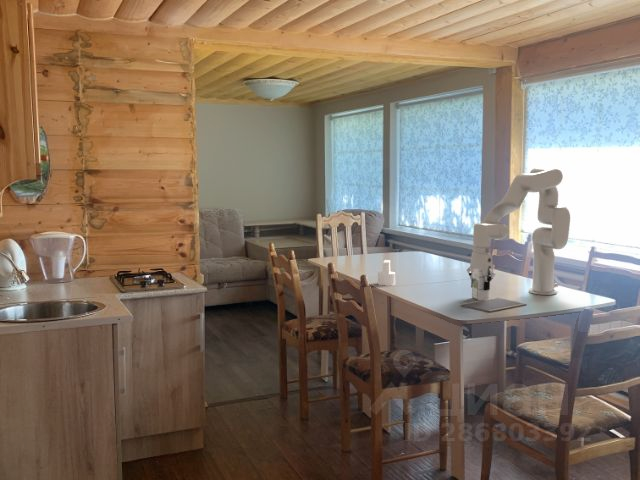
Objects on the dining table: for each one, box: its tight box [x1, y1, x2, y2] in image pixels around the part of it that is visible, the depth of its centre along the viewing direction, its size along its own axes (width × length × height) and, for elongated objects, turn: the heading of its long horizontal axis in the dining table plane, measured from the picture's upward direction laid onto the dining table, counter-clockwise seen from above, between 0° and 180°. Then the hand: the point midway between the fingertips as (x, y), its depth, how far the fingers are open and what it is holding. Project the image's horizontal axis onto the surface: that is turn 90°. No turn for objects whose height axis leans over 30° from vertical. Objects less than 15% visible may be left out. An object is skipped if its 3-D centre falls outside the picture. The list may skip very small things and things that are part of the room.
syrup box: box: [471, 268, 490, 301], centre depth 294 cm, size 6×6×14 cm
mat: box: [460, 297, 527, 313], centre depth 280 cm, size 24×16×1 cm, turn 125°
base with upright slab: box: [377, 259, 396, 287], centre depth 329 cm, size 9×9×12 cm
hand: (480, 288), depth 294 cm, fingers closed on syrup box, 6 cm apart
